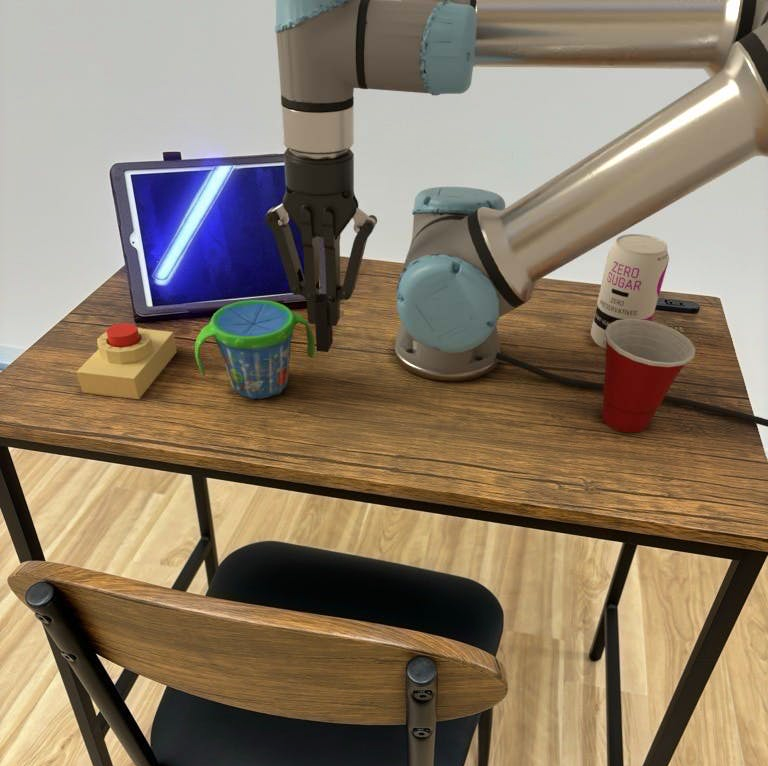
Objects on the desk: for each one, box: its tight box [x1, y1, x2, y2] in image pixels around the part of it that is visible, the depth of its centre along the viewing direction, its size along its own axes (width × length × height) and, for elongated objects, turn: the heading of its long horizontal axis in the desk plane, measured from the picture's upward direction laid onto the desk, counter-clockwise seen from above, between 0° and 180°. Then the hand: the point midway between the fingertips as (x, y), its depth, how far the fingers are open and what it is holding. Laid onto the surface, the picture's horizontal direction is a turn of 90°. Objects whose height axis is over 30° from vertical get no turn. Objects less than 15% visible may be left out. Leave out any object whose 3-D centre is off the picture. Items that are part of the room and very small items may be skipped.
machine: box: [76, 327, 178, 400], centre depth 101 cm, size 13×8×5 cm, turn 170°
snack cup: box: [194, 299, 316, 400], centre depth 97 cm, size 16×10×10 cm
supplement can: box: [590, 233, 670, 350], centre depth 107 cm, size 8×8×15 cm
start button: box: [106, 322, 140, 348], centre depth 99 cm, size 4×4×2 cm
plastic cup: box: [602, 319, 697, 434], centre depth 92 cm, size 11×11×12 cm
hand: (324, 346), depth 94 cm, fingers closed
